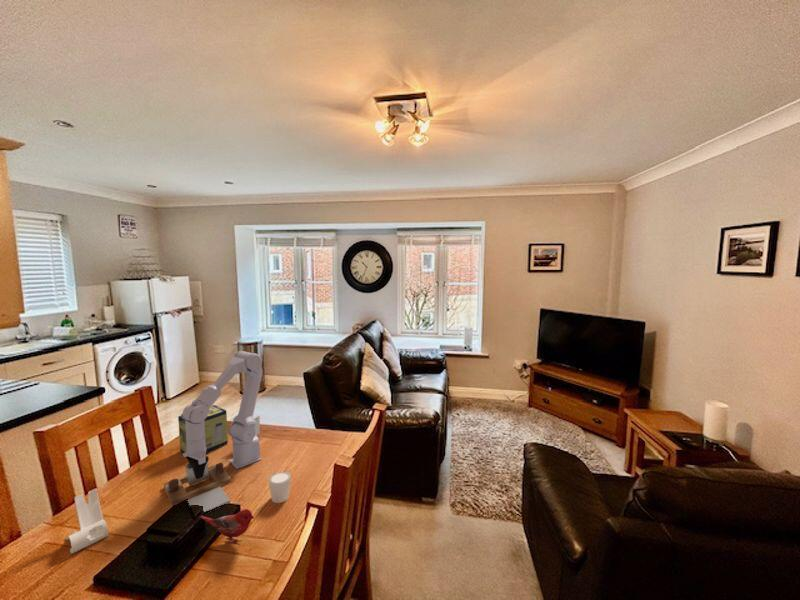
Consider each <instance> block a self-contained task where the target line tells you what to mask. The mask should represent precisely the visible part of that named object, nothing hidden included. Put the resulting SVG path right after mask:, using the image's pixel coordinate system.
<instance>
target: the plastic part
mask: <svg viewBox="0 0 800 600" xmlns="http://www.w3.org/2000/svg"><path fill="white" fill-rule="evenodd" d="M87 497H88V499H87V500H88V503H87V501H86V499H85V497H84V495H83V494H79V495H75V496H74V497H73V499H74V503H75V504H74V505H75V510H76V515H77V520H78V525H79V529H80V530H78V531H77V529H76V530H72V534H70V535H68V536H67V537H65V538H64V540H69V542H70V545H71V548H69V552H70V554H72V555H73V554H75V553H78V552H79V551H81V550H83V549H85V548H86V547H89V546H91V545H93V544H96V543H97V542H98V541H100V540H103V539H105V538H106V537H108V536H109V527H108V524H107V521H106V520H105V519H104V516H103V512H102V507H101V503H100V499H99V494H98V488H97V487H96V488H93V489H91V490H89V491H88V493H87Z"/></svg>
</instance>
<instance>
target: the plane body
mask: <svg viewBox="0 0 800 600" xmlns="http://www.w3.org/2000/svg"><path fill="white" fill-rule="evenodd" d="M208 473H209V478H210V479H211V480H212V482H211V483H209V484H205V485H204V486H201V487H198V488H195V489H193V490H191V491H186V489H185V487H184V485H183V484H184V483H185V482H187V479H186V475H184V476H180V477H178V478H173V479H171V480H169V481H167V482H164V483H163V489H164V492H165V493H166V495H167V498H168V500H169V502H170V504H171V507H172V506H176V505H178V504H180V503H182V502H181V501H183V500H185V499H188V500H189V499H191V498H193V497H196V496H198V495H201V494H203V493H206V492H208V491H211V490H213V489H215V488H218V487H222V486H225V485H227V484H229V483H231V482H232V477H231V476H230V475H229V473H228V472H227V471H226V469H225V468H224V464H223V462H219V463H217V464H214V465H211V466H208ZM185 501H186V500H185ZM183 502H184V501H183Z"/></svg>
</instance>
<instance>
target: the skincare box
mask: <svg viewBox="0 0 800 600" xmlns="http://www.w3.org/2000/svg"><path fill="white" fill-rule="evenodd" d="M253 418H254V420H255V421H256V426H255V428H256V434H255V436H257V437H258V439H259V442H260V440H261V434H260V431H261V429H260V428H261V427H260V415H258V414H253Z"/></svg>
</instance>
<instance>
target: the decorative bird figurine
mask: <svg viewBox="0 0 800 600" xmlns="http://www.w3.org/2000/svg"><path fill="white" fill-rule="evenodd" d="M198 518H200V519H202V520H204V521H206V522H207V523H208V524H210V525H211V526H212V527H213V528H214V530H216V531H217V532H218V533H220V534H222V535H223V536H225V537H227V538H225V540H228V541H229V542H232V543H237V542H243V541H242V540H239V539H237V538H238V537H240V536H241V535H243V534H244V533H245V532H246V531H247V530H248V529H249V526H250V524H251V523H252V520H253V519H255V517H254V515H253V514H252V512H251V510H250V509H247V508H244V509H242V510H240V511H238V512H237V513H236V514H231V515H223V516H221V517H217V518H215V519H214V518H211V517H207V516H204V515H201V516H199V517H198Z"/></svg>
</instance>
